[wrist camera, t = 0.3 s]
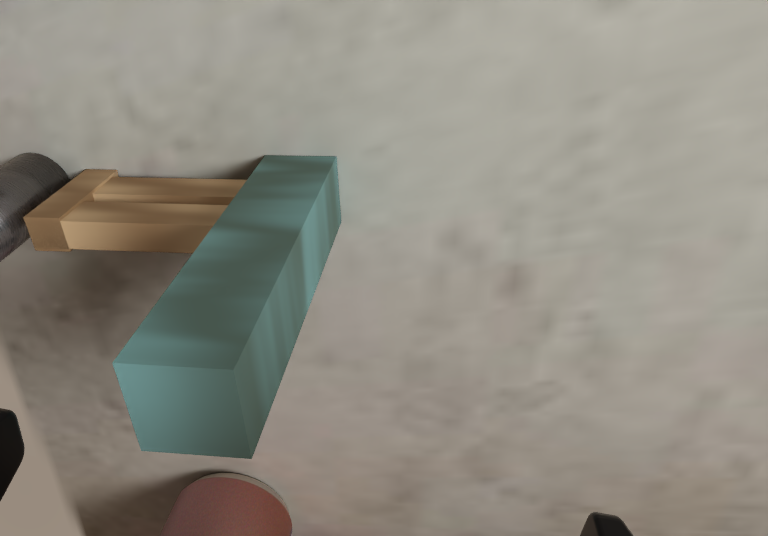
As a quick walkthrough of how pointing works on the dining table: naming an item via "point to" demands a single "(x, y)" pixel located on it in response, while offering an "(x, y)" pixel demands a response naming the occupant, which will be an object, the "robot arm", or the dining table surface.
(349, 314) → the dining table surface
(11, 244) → the hinge post
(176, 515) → the beverage can
